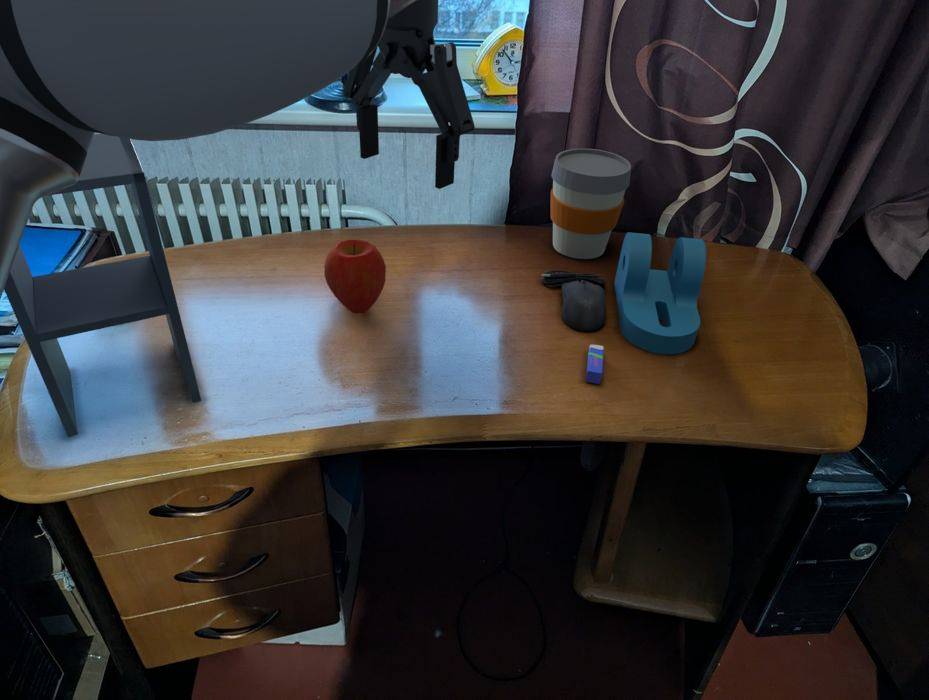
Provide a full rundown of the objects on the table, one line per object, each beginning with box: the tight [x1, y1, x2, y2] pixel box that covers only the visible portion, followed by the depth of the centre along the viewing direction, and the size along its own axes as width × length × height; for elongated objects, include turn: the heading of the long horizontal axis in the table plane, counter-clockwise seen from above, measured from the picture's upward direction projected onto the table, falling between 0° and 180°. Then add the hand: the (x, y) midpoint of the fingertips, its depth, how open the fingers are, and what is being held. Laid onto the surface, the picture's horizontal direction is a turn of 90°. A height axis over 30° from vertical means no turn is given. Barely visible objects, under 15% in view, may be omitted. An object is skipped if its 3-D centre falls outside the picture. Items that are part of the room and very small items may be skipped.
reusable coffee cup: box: [550, 147, 632, 260], centre depth 109 cm, size 13×13×15 cm
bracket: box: [613, 231, 707, 355], centre depth 93 cm, size 18×10×10 cm, turn 173°
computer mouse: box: [541, 269, 607, 332], centre depth 97 cm, size 10×15×4 cm
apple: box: [323, 239, 387, 315], centre depth 91 cm, size 9×8×11 cm
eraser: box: [585, 343, 605, 385], centre depth 85 cm, size 2×6×2 cm, turn 167°
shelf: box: [3, 133, 202, 438], centre depth 70 cm, size 12×14×28 cm
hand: (405, 170), depth 86 cm, fingers open, 13 cm apart
